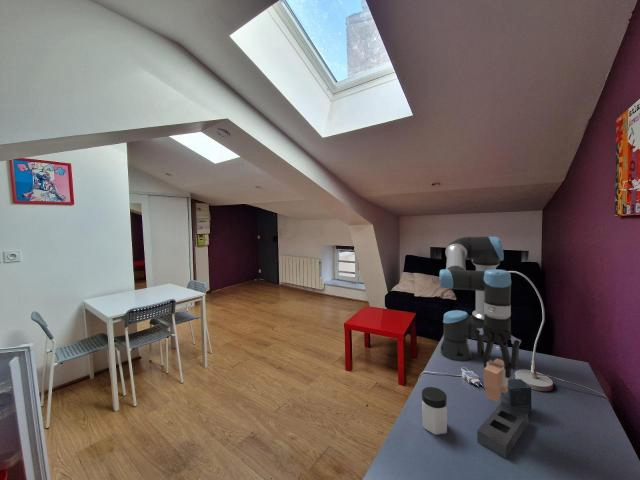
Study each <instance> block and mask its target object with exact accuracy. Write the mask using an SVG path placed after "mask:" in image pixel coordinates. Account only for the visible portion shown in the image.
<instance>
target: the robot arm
mask: <svg viewBox="0 0 640 480" xmlns="http://www.w3.org/2000/svg"><path fill="white" fill-rule="evenodd" d="M504 254H505V253H504V248H503V243H502V240H501V238H500V237H499V236H487V235H486V236H485V235H484V236H462V237H458V238H456V239H454V240H452V241H451V242H450V243H449V244H448V245H447V246H446V248H445V257H446V263H445V265H446V267H445V268H444V269H440V270H439V276H438V277H439V287H440V288H442V289H449V290H464V291H465V290H466V291H475V310H473V311H472V313H471V315H470V314H468V312H466V311H464V310H458V309H456V310H449V311H447V312H445V313H444V314H443V320H442V323H443V339H442V342H441V345H440V348H439V349H440V354H441V355H442V356H443V357H444V358H447V359H450V360H452V361H458V362H460V361H461V362H463V361H464V362H465V361H469V360H470V359H472V351H471V348H470V344H469V341H468V339H473V340H476V346H477V347H476V348H477V349H476V350H477V357H478V358H479V359H482V360H483V369H484V368H485V367H487V366H488V365H489V364H491V363H492V362H493V360H492V359H491V354H492V351H493V347H494V344H495V343H496V344H498V345H499V349H500V352H501V357H502V360H503V361H504V367H502V387H504V388H505V387H506V386H507V385H508V378H511V377H512V370H516V369H517V368H518V367H519V354H520V345H521V344H522V339H521V338H517V337H515V336H513V333H512V328H511V325H512V324H511V323H512V320H511V315H512V312H511V311H512V310H511V308H512V307H511V306H512V305H511V297H512V296H511V293H512V292H511V291H512V290H511V289H512V278H511V276H512V275H511V273H510V271H508V270H505V269H497V268H498V266H499V265H501V261H504V260H505V259H504V258H505V256H504ZM466 260H468V261H469V260H471V262H472V264H473V265H474V266H475V270H467V268H466V267H467V266H466ZM510 340H511V341H510ZM485 341H486V346H485ZM509 341H510V342H511V345H512V346H511V356H510V352H509V348H508V342H509Z"/></svg>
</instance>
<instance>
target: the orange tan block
mask: <svg viewBox="0 0 640 480" xmlns="http://www.w3.org/2000/svg"><path fill="white" fill-rule="evenodd" d="M502 367H504V361H503V359H501V358H495V359H494V360H492V363H491V364H489V365H488V366H487V367H485V368H484V367H483V387H484V389H485V391H484V392H485V394H484V397H485V398H486V399H489V400H492V401H493V402H495V403H498V402H499V401H501V392H502V393H506V392H507V391H508V385H507V386H506V387H505V388H504V387H502ZM510 378H511V377H510ZM510 378H508V380H510Z"/></svg>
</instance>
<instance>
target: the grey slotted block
mask: <svg viewBox="0 0 640 480" xmlns="http://www.w3.org/2000/svg"><path fill="white" fill-rule="evenodd" d="M528 424H529V414H528V412H525V411H523V410H521V409H518V408H516V407H514V406H512V405H509V404H507V403H505V402H501V401H500V403H499V404H498V405H497V407H496V408H495V409H494V410H493V412H492V413H491V414H490V415H489V416H488V417H487V418H486V419H485V421H484V422H483V423H482V425H481V426H480V427H479V428H478V429H477V431H476V432H477V434H476V435H477V437H476V438H477V439H476V440H477V443H478V444H480V445H481V446H484V447H485V448H486V449H489V450H490V451H492V452H494V453H495V454H497V455H499V456H501V457H502V458H504V459H506V458H508V455H509V454H510V452H511V451H512V450H513V448H514V446H515V444H516V443H517V441H518V440H519V438H520V437H521V435H522V434H523V432H524V430H525V429H526V428H527V426H528Z"/></svg>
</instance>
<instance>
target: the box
mask: <svg viewBox="0 0 640 480" xmlns="http://www.w3.org/2000/svg"><path fill="white" fill-rule="evenodd" d="M501 402H505V403H507V404H509V405H512V406H514V407H516V408H518V409H521V410H523V411H525V412H528V415H532V412H533V411H532V409H533V408H532V386H530V384H528V383H527V382H525V381H524V380H523V379H521V378H515V379H514V378H513V379H509V380H508V391H507V392H506V393H502V392H500V403H501Z"/></svg>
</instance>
